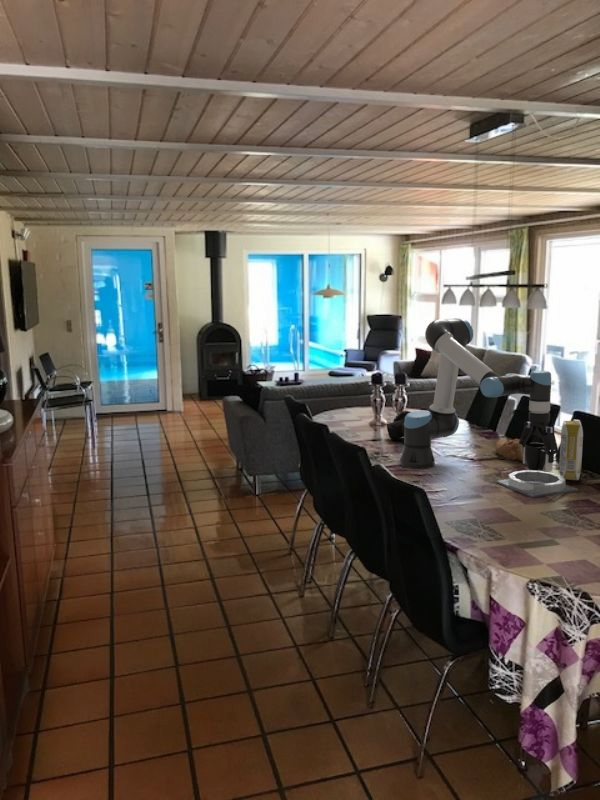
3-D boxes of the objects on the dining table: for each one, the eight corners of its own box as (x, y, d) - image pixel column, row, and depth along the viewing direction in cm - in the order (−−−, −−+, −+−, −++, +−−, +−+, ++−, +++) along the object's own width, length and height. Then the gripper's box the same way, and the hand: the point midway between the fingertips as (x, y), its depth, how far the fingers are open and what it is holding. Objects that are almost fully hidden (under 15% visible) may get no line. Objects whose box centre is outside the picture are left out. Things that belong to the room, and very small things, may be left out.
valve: (395, 429, 306) (382, 415, 335) (402, 456, 309) (388, 441, 338) (437, 416, 306) (421, 404, 336) (444, 444, 309) (427, 429, 339)
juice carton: (580, 481, 251) (584, 422, 247) (559, 479, 254) (562, 421, 250) (579, 475, 260) (582, 418, 256) (558, 473, 262) (561, 417, 258)
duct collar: (532, 497, 232) (533, 487, 231) (496, 482, 251) (496, 473, 250) (577, 491, 239) (578, 481, 238) (539, 476, 258) (539, 467, 258)
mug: (531, 474, 238) (532, 449, 236) (521, 466, 250) (522, 442, 248) (553, 474, 238) (555, 449, 236) (542, 465, 250) (543, 442, 248)
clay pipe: (501, 470, 282) (535, 462, 278) (494, 448, 281) (528, 439, 277) (498, 459, 300) (531, 451, 296) (492, 438, 299) (524, 429, 294)
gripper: (570, 415, 230) (568, 473, 234) (526, 406, 253) (524, 458, 256) (554, 417, 228) (551, 475, 231) (510, 407, 250) (509, 460, 253)
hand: (537, 466), depth 243 cm, fingers closed on mug, 12 cm apart
